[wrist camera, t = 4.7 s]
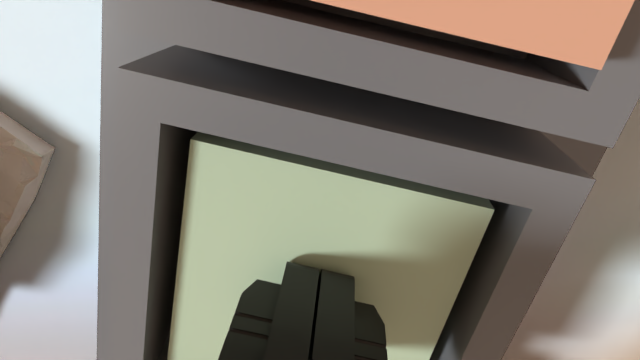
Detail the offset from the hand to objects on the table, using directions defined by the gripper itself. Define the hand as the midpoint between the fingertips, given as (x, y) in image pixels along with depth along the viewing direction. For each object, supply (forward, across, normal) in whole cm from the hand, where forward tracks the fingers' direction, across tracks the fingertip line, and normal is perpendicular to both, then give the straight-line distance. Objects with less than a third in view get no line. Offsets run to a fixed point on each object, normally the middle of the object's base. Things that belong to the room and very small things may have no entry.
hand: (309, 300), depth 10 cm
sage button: (+2, 0, 0) cm, 2 cm away
